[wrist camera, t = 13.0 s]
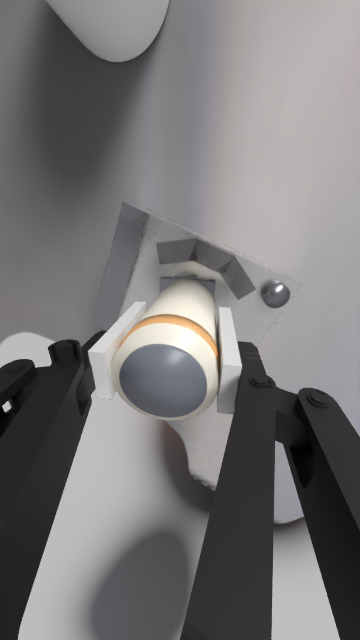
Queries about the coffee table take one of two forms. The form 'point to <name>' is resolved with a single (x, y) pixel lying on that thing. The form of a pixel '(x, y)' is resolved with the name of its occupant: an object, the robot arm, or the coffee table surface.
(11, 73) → the coffee table surface
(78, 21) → the candle holder
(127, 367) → the cream flashlight
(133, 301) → the cradle fixture plate
